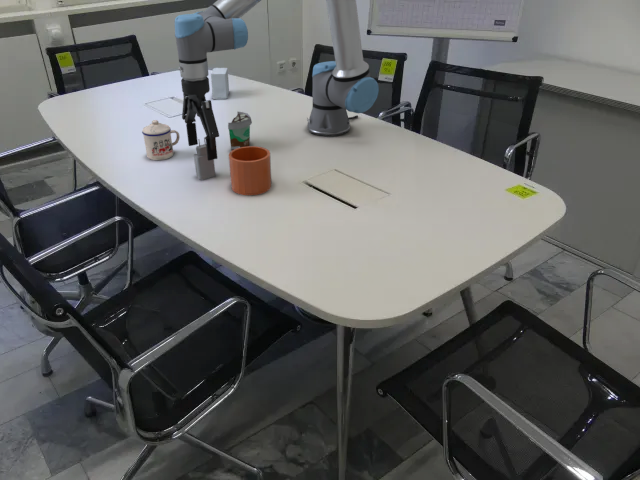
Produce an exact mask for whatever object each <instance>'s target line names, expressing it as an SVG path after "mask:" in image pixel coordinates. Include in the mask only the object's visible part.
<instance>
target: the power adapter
mask: <svg viewBox="0 0 640 480" xmlns="http://www.w3.org/2000/svg"><path fill="white" fill-rule="evenodd" d="M205 137H206V136H205ZM205 137H203V143H204V144H201V142H200V138H197V141H198V145H196V147H195V152H196V153H195V154H193V160H194V167H195V175H196V179H197V180H199V181H204V180H207V179H210V178H215V177H216V167H215V159H214V160H210V161H209V160H208V158H207V148H206V139H205Z"/></svg>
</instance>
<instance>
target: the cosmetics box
mask: <svg viewBox="0 0 640 480" xmlns="http://www.w3.org/2000/svg"><path fill="white" fill-rule="evenodd" d="M210 80H211V95H212V96H211V97H212V100H227V99H228V96H229V94H230V85H229V84H230V83H229V82H230V81H229V69H228V67H213V69H212V70H211V72H210Z"/></svg>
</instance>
